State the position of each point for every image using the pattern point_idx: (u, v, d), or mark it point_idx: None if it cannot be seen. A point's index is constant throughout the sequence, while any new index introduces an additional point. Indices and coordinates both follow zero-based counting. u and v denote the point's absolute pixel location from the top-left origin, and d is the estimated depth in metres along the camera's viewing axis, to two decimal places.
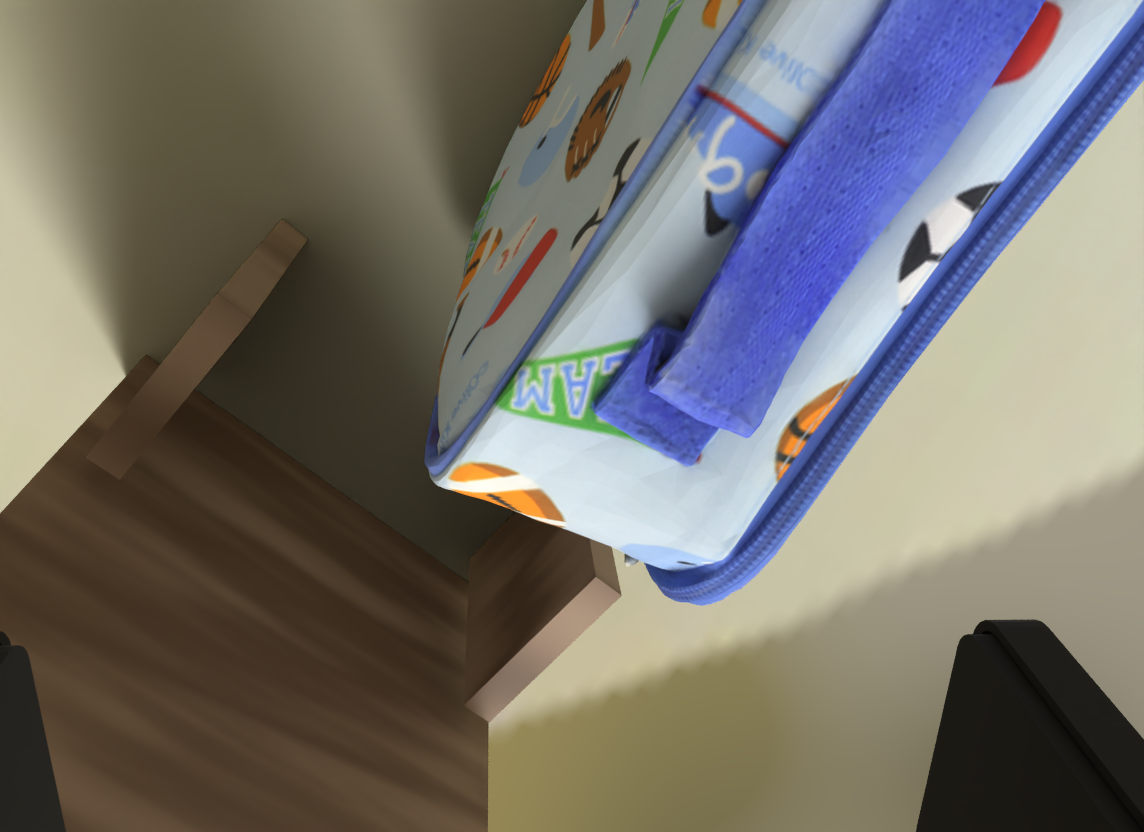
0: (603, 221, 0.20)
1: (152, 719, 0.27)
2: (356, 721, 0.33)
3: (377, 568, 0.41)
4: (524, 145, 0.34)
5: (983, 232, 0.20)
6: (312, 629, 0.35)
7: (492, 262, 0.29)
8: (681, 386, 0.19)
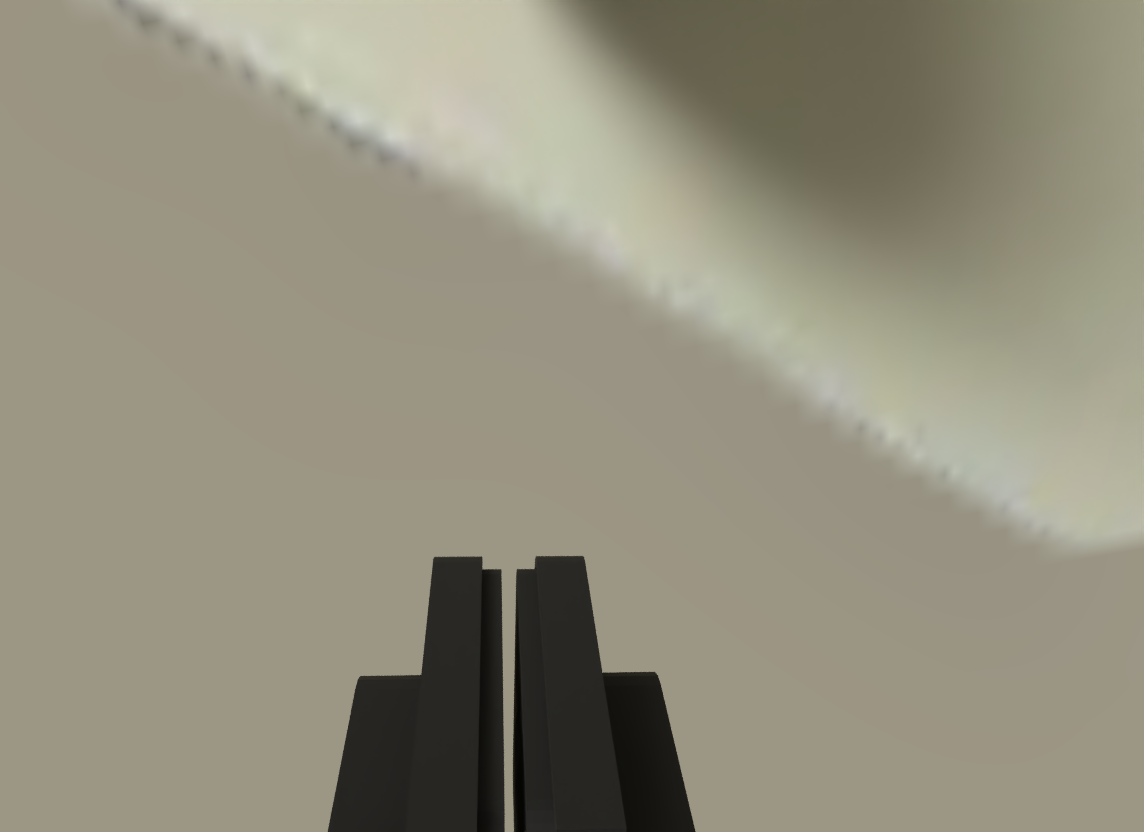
0: None
1: None
2: None
3: None
4: None
5: None
6: None
7: None
8: None
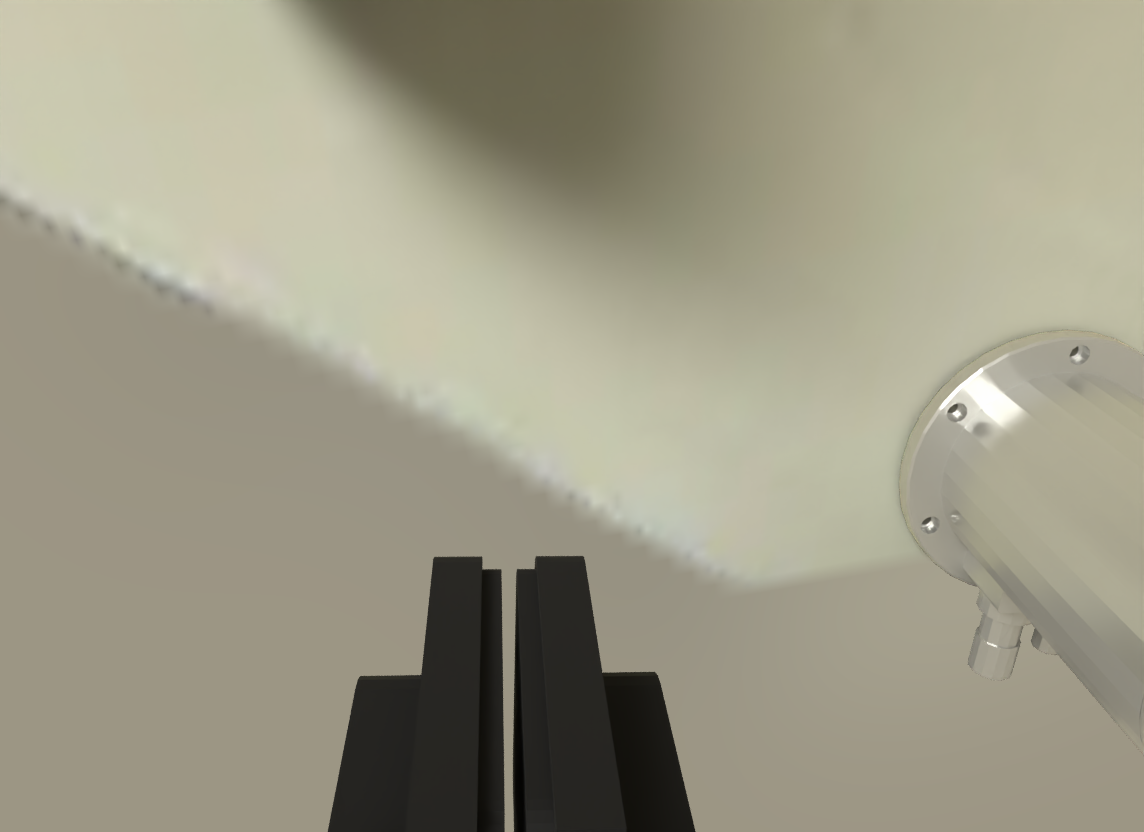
0: None
1: None
2: None
3: None
4: None
5: None
6: None
7: None
8: None
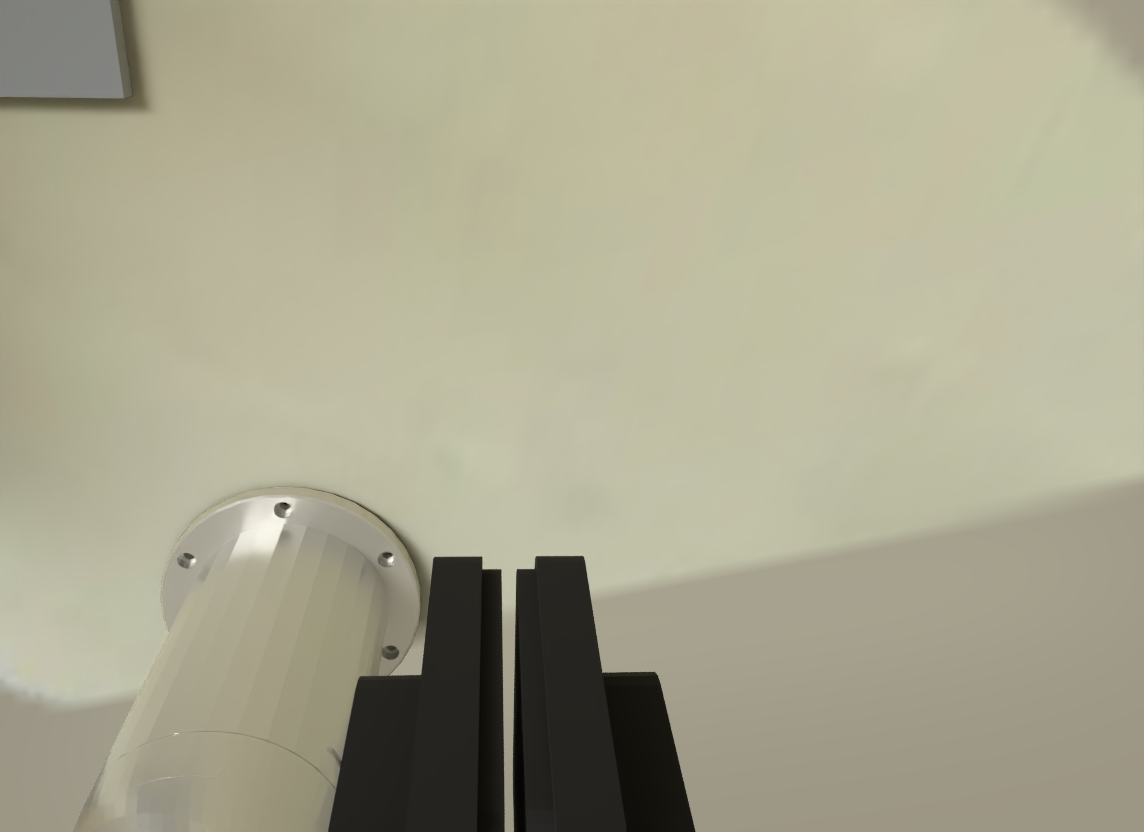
0: None
1: None
2: None
3: None
4: None
5: None
6: None
7: None
8: None
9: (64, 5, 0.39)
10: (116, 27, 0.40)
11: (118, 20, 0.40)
